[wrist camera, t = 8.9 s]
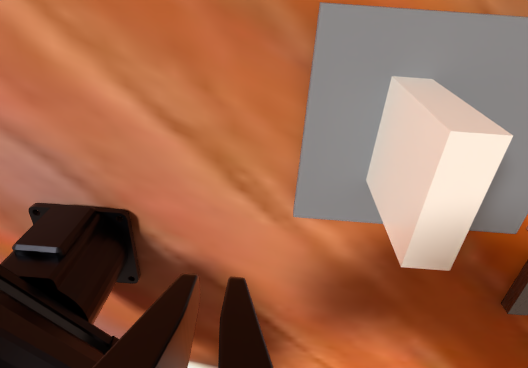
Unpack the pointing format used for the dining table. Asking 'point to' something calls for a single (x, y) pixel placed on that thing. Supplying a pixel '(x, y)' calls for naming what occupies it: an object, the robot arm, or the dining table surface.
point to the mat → (375, 93)
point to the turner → (518, 294)
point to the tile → (431, 170)
